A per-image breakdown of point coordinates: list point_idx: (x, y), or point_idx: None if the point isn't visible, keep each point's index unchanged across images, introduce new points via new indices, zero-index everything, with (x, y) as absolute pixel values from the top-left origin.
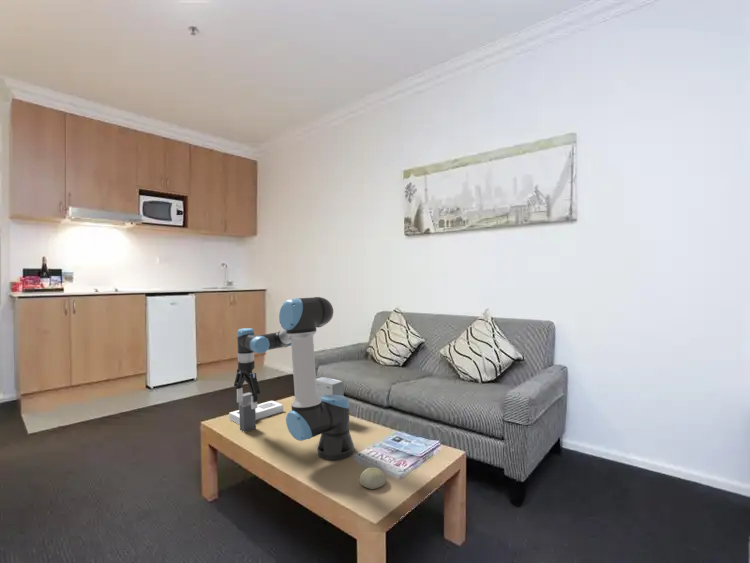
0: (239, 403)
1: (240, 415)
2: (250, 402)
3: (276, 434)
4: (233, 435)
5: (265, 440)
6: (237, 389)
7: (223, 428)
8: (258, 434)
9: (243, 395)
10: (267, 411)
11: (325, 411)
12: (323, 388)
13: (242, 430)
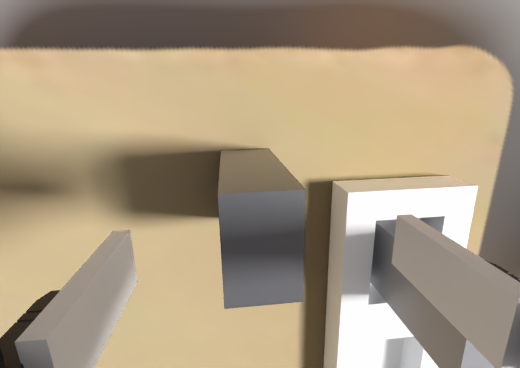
0: None
1: (271, 167)
2: (291, 293)
3: (66, 256)
4: (223, 85)
5: (24, 180)
6: (518, 298)
7: (362, 93)
8: (134, 191)
9: None
10: (334, 343)
11: None
12: None
13: (240, 150)
